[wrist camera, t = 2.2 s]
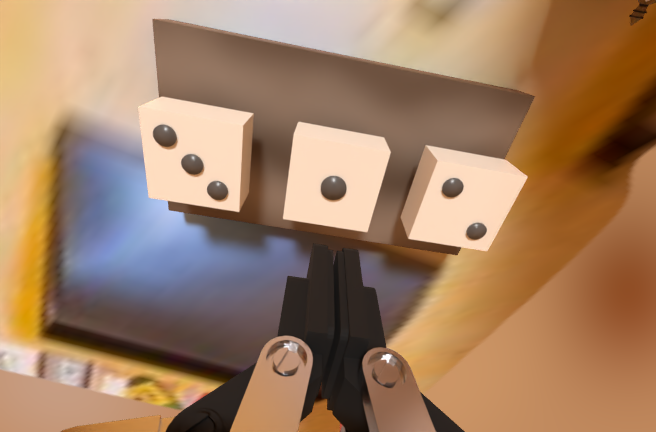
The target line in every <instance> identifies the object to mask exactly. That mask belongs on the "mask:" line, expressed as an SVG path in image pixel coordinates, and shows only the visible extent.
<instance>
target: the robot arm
mask: <svg viewBox="0 0 656 432" xmlns="http://www.w3.org/2000/svg"><path fill="white" fill-rule="evenodd" d="M321 382H322V398H326V399H327V410H333V415H334V416H335V417H336V418H337V420H338V421H339V422H340V432H464V431H463V430H462V429H461V428H460V427H459V426H458V425H457V424H455V423H454V422H453V421H452V420H451V419H450V418H449V417H448V416H446V415H445V414H444V413H443V412H442V411H441V410H440V409H438V407H436V406H435V405H434V404H433V403H432V402H431V401H430V400H429V399H427V398H426V397H425V396H424V395H423V394H422V393H421V392H420V391H419V388H418V386H417V383H416V381H415V378H414V376H413V373H412V371H411V368H410V366H409V365H408V363H407V361H406V360H405V359H404V358H403V357H402V356H401V355H400V354H398V353H397V352H395V351H393V350H391V349H388V348H386V343H385V338H384V332H383V327H382V322H381V316H380V311H379V305H378V300H377V294H376V290H375V289H374V288H371V287H364V286H363V282H362V274H361V267H360V260H359V252H358V250H353V249H347V248H343V249H342V252H341V251H337V253H336V256H335V261H334V265H333V250H328V246H327V245H320V244H313V247H312V252H311V257H310V263H309V268H308V273H307V278H300V277H292V276H288V277H287V283H286V289H285V295H284V301H283V307H282V313H281V319H280V324H279V330H278V336H277V337H276V338H274V339H272V340H270V341H269V342H268V343H267V344H266V345H265V346H264V348H263V350H262V351H261V354H260V356H259V359H258V362H257V363H255V364H254V365H252V366H251V367H249V368H248V369H246V370H245V371H243V372H242V373H240V374H238V375H237V376H235V377H234V378H232V379H231V380H229V381H228V382H226V383H225V384H223V385H221V386H220V387H218V388H217V389H215V390H214V391H212V392H211V393H209V394H208V395H206V396H204V397H203V398H201V399H200V400H198V401H197V402H195V403H194V404H192V405H190V406H189V407H187V408H186V409H184V410H183V411H182V412H180V413H179V414H178V415H177V416H176V417H170V418H163V419H161V415H157V416H148V417H141V418H134V419H126V420H119V421H112V422H104V423H97V424H89V425H82V426H75V427H72V428H68V429H65V430H62V431H61V432H298V428H299V423H300V422H301V421H302V420H303V419H304V418H305V417H306V416H307V415H309V414H310V413H311V412H312V409H313V405H314V401H315V398H316V397H317V396H318V393H319V389H320V385H321Z"/></svg>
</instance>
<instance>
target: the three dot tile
mask: <svg viewBox="0 0 656 432" xmlns="http://www.w3.org/2000/svg"><path fill="white" fill-rule="evenodd" d="M138 111H139V119H140V127H141V136H142V144H143V153H144V161H145V169H146V178H147V186H148V194H149V198H154V199H160V200H166V201H173V202H179V203H185V204H192V205H198V206H204V207H211V208H217V209H223V210H230V211H236V212H239V211H240V209H241V207H242V205H243V203H244V201H245V199H246V197H247V195H248V193H249V183H250V167H251V150H252V134H253V118H254V113H249V112H244V111H238V110H233V109H227V108H222V107H216V106H211V105H206V104H200V103H195V102H189V101H184V100H178V99H173V98H167V97H159V98H157V99H155V100H152V101H150V102H148V103H145V104H143V105H140V106H138Z"/></svg>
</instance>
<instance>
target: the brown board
mask: <svg viewBox="0 0 656 432" xmlns="http://www.w3.org/2000/svg"><path fill="white" fill-rule="evenodd" d="M153 31H154V43H155V54H156V66H157V78H158V90H159V97H167V98H173V99H178V100H184V101H189V102H195V103H200V104H206V105H211V106H216V107H222V108H227V109H233V110H238V111H244V112H249V113H254V118H253V134H252V150H251V167H250V183H249V193H248V195H247V197H246V199H245V201H244V203H243V205H242V207H241V209H240V211H239V212H236V211H230V210H223V209H217V208H211V207H204V206H198V205H192V204H185V203H179V202H173V201H168V207H169V210H171V211H178V212H184V213H190V214H197V215H203V216H210V217H216V218H222V219H229V220H235V221H242V222H248V223H254V224H261V225H267V226H274V227H280V228H286V229H293V230H299V231H306V232H312V233H319V234H325V235H331V236H338V237H344V238H351V239H357V240H363V241H370V242H376V243H383V244H389V245H395V246H402V247H408V248H415V249H421V250H427V251H434V252H440V253H447V254H453V255H458V253H459V251H460V249H461V247H457V246H451V245H444V244H438V243H432V242H425V241H419V240H413V239H408V237H407V234H406V231H405V228H404V225H403V223H402V220H401V214H402V212H403V209H404V206H405V203H406V200H407V197H408V194H409V191H410V188H411V186H412V183H413V180H414V177H415V174H416V171H417V168H418V165H419V163H420V160H421V157H422V154H423V151H424V148H425V145H428V146H434V147H439V148H445V149H450V150H455V151H461V152H466V153H472V154H477V155H483V156H488V157H493V158H499V159H505V157H506V155H507V153H508V150H509V148H510V146H511V144H512V142H513V140H514V138H515V136H516V134H517V132H518V130H519V128H520V126H521V124H522V122H523V120H524V118H525V116H526V114H527V112H528V110H529V107H530V105H531V103H532V101H533V99H534V97H535V96H532V95H529V94H526V93H523V92H521V91H518V90H513V89H508V88H503V87H498V86H493V85H488V84H483V83H478V82H473V81H468V80H463V79H459V78H454V77H449V76H444V75H439V74H434V73H429V72H424V71H419V70H414V69H409V68H405V67H400V66H395V65H390V64H385V63H380V62H375V61H370V60H365V59H360V58H355V57H350V56H346V55H341V54H336V53H331V52H326V51H321V50H316V49H311V48H306V47H301V46H296V45H292V44H287V43H282V42H277V41H272V40H267V39H262V38H257V37H252V36H247V35H242V34H238V33H233V32H228V31H223V30H218V29H213V28H208V27H203V26H198V25H193V24H188V23H183V22H179V21H174V20H169V19H153ZM298 122H303V123H309V124H314V125H320V126H325V127H330V128H336V129H341V130H347V131H352V132H358V133H363V134H368V135H374V136H379V137H384V138H385V141H386V143H387V145H388V147H389V149H390V151H391V153H390V157H389V160H388V164H387V167H386V170H385V174H384V177H383V181H382V184H381V187H380V191H379V194H378V198H377V201H376V205H375V208H374V211H373V215H372V218H371V222H370V225H369V228H368V232H362V231H356V230H350V229H343V228H337V227H331V226H324V225H318V224H312V223H305V222H299V221H293V220H286V219H283V214H284V206H285V198H286V190H287V183H288V175H289V167H290V159H291V151H292V143H293V135H294V132H295V129H296V126H297V123H298Z"/></svg>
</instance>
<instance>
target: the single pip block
mask: <svg viewBox="0 0 656 432" xmlns="http://www.w3.org/2000/svg"><path fill="white" fill-rule="evenodd" d="M390 153H391V151H390V149H389V147H388V145H387V143H386V141H385V138H384V137H379V136H374V135H368V134H363V133H358V132H352V131H347V130H341V129H336V128H330V127H325V126H320V125H314V124H309V123H303V122H298V123H297V126H296V129H295V132H294V135H293V143H292V151H291V159H290V167H289V175H288V183H287V190H286V198H285V206H284V214H283V219H286V220H293V221H299V222H305V223H312V224H318V225H324V226H331V227H337V228H343V229H350V230H356V231H362V232H368V228H369V225H370V222H371V218H372V215H373V211H374V208H375V205H376V201H377V198H378V194H379V191H380V187H381V184H382V181H383V177H384V174H385V170H386V167H387V164H388V160H389V157H390Z"/></svg>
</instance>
